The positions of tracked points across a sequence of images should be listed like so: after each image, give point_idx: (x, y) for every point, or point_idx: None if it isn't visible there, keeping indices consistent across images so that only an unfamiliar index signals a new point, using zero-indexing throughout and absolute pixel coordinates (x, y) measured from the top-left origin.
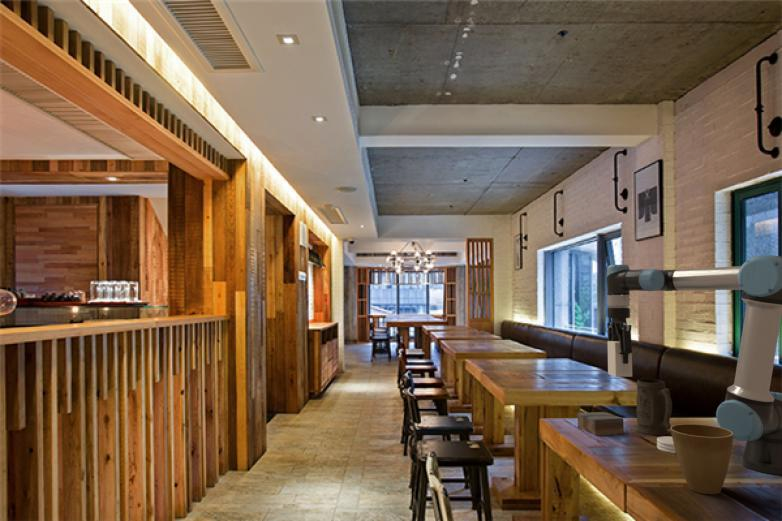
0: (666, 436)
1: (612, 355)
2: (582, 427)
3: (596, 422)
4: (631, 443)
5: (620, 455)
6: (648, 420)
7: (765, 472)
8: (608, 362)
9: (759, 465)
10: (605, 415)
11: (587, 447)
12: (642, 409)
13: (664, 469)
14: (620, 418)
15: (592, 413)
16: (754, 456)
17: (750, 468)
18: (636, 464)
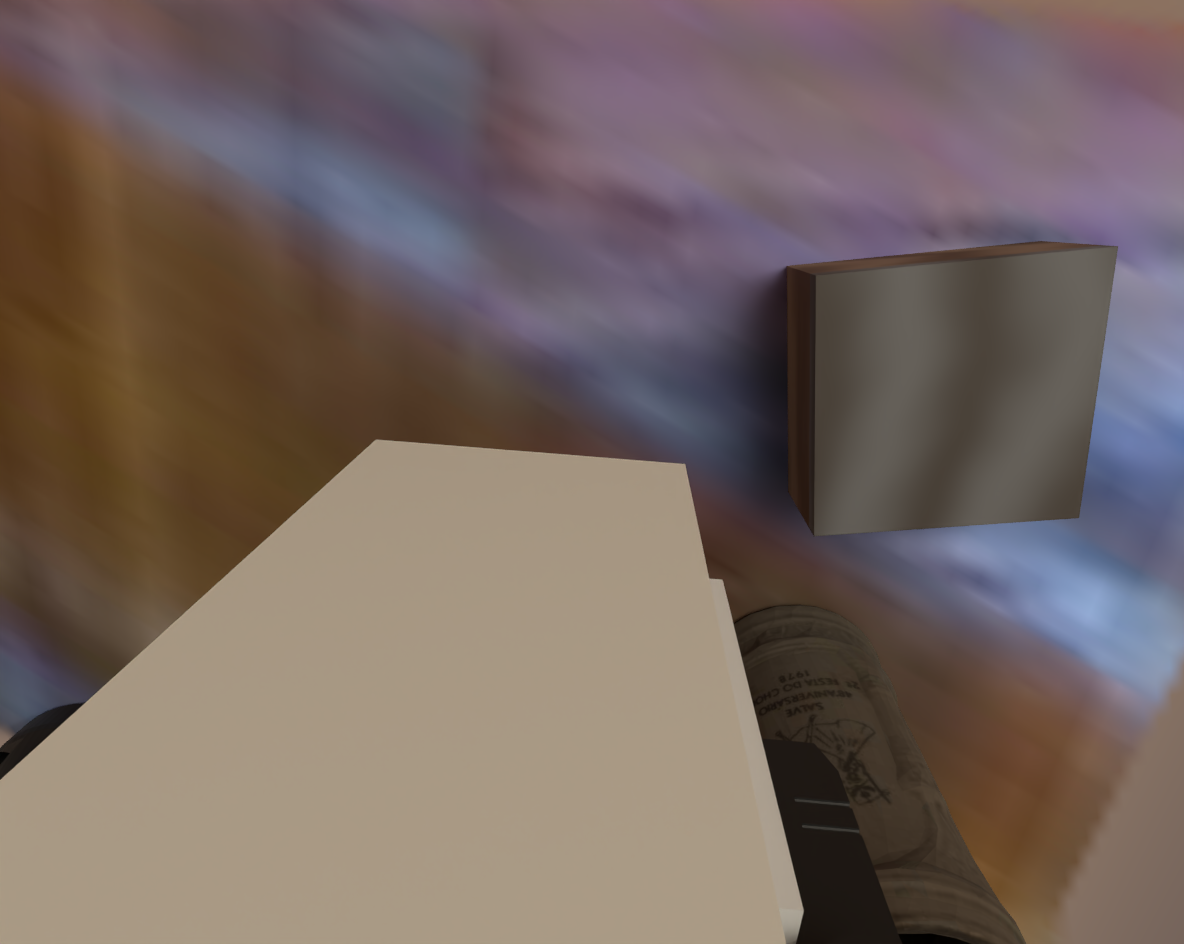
0: None
1: (351, 677)
2: (978, 248)
3: (811, 287)
4: (555, 410)
5: (287, 178)
6: (750, 683)
7: (29, 722)
8: (675, 567)
9: (25, 730)
10: (951, 455)
11: (485, 25)
12: (810, 716)
13: (23, 295)
14: (820, 515)
15: (1058, 384)
16: (24, 755)
17: (81, 704)
18: (99, 177)
